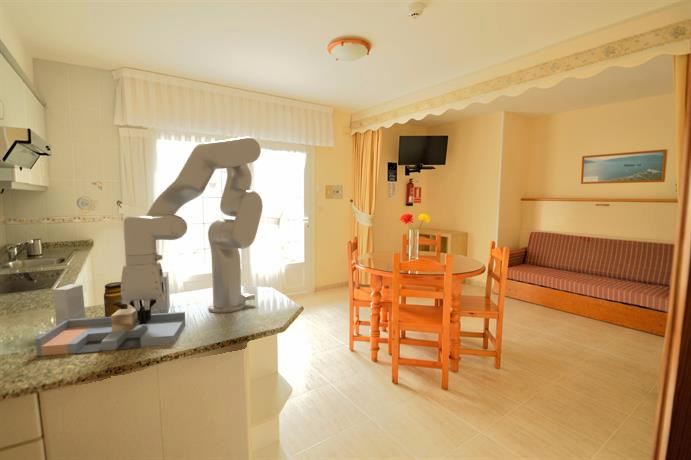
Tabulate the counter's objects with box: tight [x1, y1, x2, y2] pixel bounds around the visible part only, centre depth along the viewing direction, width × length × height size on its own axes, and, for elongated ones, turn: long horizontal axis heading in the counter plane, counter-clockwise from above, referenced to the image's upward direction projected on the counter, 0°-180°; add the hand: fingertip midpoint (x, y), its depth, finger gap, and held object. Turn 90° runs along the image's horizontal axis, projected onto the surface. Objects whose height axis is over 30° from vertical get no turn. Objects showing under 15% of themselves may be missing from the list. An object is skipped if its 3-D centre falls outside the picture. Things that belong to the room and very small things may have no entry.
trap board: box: [35, 311, 186, 357], centre depth 91 cm, size 31×14×4 cm, turn 104°
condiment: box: [103, 281, 129, 317], centre depth 104 cm, size 7×8×12 cm
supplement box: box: [142, 271, 171, 314], centre depth 114 cm, size 7×7×13 cm
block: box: [111, 307, 139, 331], centre depth 93 cm, size 5×5×4 cm
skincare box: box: [52, 283, 86, 326], centre depth 100 cm, size 6×4×12 cm
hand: (144, 322), depth 95 cm, fingers closed
